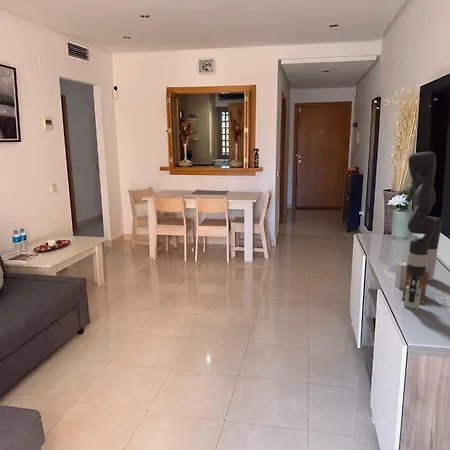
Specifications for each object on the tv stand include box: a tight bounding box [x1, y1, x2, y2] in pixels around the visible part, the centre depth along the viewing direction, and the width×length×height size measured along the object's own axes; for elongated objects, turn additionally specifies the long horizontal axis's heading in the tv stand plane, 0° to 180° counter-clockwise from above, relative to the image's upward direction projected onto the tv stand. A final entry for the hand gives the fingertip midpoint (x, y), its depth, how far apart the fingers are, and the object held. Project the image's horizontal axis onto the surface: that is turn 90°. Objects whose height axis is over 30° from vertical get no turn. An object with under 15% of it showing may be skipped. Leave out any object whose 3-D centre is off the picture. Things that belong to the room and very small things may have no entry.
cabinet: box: [401, 271, 428, 305], centre depth 188 cm, size 12×9×12 cm
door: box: [403, 286, 422, 310], centre depth 177 cm, size 3×6×9 cm, turn 62°
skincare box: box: [394, 262, 407, 289], centre depth 201 cm, size 6×4×12 cm
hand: (412, 298), depth 177 cm, fingers open, 8 cm apart
